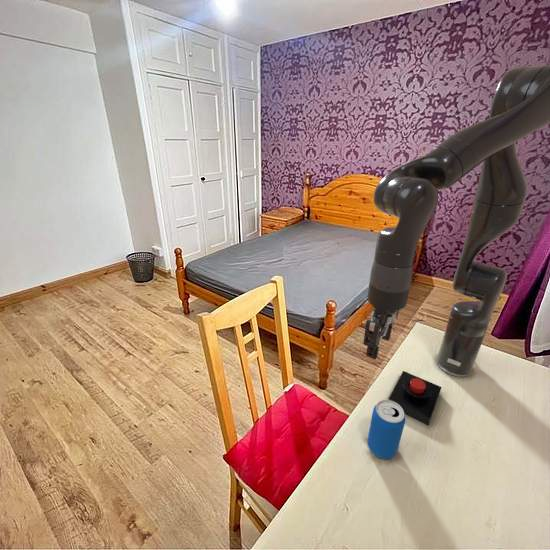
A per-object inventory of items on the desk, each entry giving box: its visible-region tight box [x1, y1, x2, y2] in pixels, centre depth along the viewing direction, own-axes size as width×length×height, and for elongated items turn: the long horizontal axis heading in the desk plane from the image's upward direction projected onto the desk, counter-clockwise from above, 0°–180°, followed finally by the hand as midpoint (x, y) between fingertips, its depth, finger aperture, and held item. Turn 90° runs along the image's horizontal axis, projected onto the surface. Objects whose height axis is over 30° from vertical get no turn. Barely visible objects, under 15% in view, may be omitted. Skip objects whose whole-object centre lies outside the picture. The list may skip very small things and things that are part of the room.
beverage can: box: [366, 399, 406, 460], centre depth 66 cm, size 6×6×12 cm
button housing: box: [388, 370, 442, 427], centre depth 80 cm, size 10×12×4 cm
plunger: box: [409, 378, 426, 394], centre depth 79 cm, size 4×4×2 cm
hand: (378, 347), depth 67 cm, fingers open, 7 cm apart
